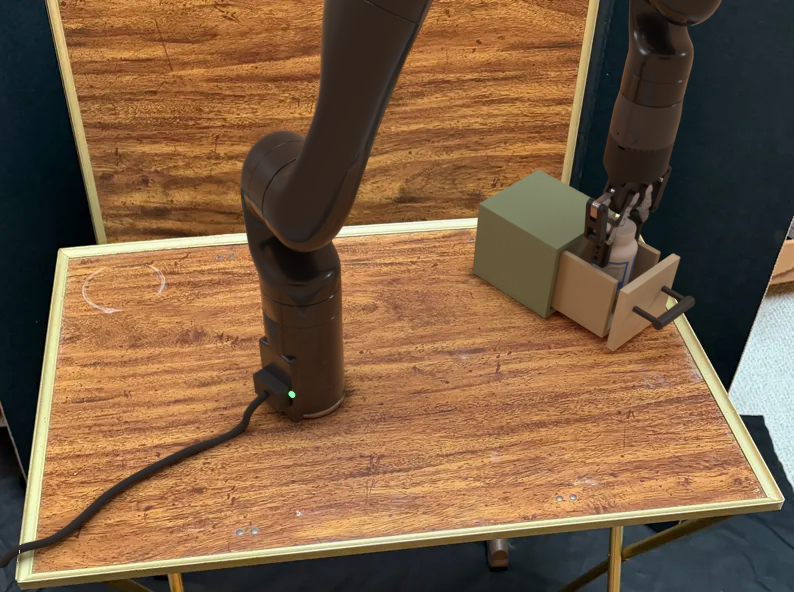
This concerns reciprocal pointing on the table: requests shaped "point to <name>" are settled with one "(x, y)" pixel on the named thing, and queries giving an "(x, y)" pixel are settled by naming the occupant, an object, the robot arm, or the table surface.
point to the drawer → (595, 291)
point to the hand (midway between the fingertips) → (613, 254)
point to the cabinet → (528, 237)
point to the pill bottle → (621, 255)
